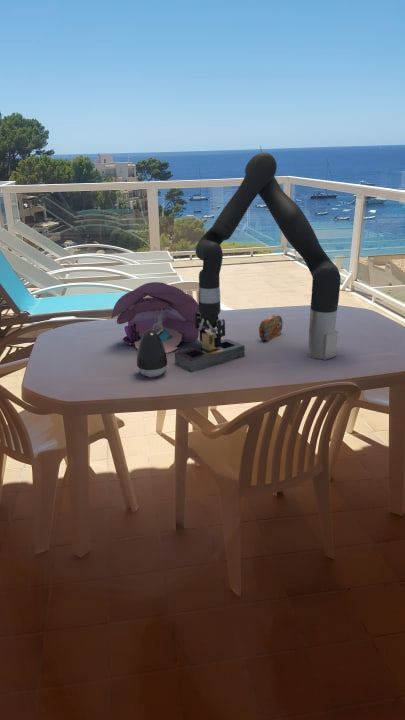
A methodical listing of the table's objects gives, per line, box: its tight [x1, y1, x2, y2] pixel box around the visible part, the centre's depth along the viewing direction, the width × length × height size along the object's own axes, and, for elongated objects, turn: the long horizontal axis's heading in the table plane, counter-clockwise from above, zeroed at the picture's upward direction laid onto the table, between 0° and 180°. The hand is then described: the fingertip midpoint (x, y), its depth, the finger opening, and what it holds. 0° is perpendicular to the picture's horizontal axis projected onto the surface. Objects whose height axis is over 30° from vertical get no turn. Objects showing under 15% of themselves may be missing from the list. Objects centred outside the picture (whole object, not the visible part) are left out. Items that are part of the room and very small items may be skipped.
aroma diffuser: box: [136, 330, 168, 378], centre depth 164 cm, size 10×10×15 cm
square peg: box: [201, 330, 218, 353], centre depth 176 cm, size 4×4×9 cm
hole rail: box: [174, 338, 246, 373], centre depth 177 cm, size 24×10×4 cm, turn 127°
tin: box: [258, 314, 283, 342], centre depth 199 cm, size 15×3×8 cm, turn 143°
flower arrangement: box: [110, 281, 210, 354], centre depth 189 cm, size 35×24×28 cm
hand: (210, 344), depth 176 cm, fingers open, 8 cm apart
